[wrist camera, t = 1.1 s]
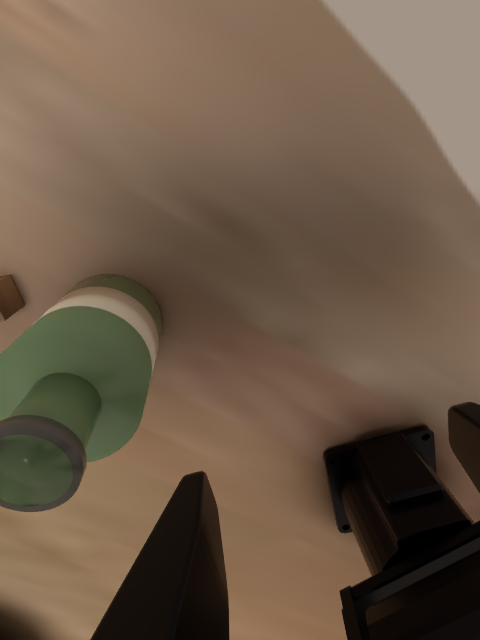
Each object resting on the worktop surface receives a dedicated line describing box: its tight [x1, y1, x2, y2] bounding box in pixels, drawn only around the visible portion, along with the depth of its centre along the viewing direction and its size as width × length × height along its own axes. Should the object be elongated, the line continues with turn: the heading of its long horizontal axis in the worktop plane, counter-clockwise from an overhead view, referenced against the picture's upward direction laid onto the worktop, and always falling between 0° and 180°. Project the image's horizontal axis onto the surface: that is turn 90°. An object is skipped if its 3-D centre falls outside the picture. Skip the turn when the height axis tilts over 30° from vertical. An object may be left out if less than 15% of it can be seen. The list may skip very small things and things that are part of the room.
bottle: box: [0, 274, 163, 512], centre depth 14 cm, size 5×5×10 cm
